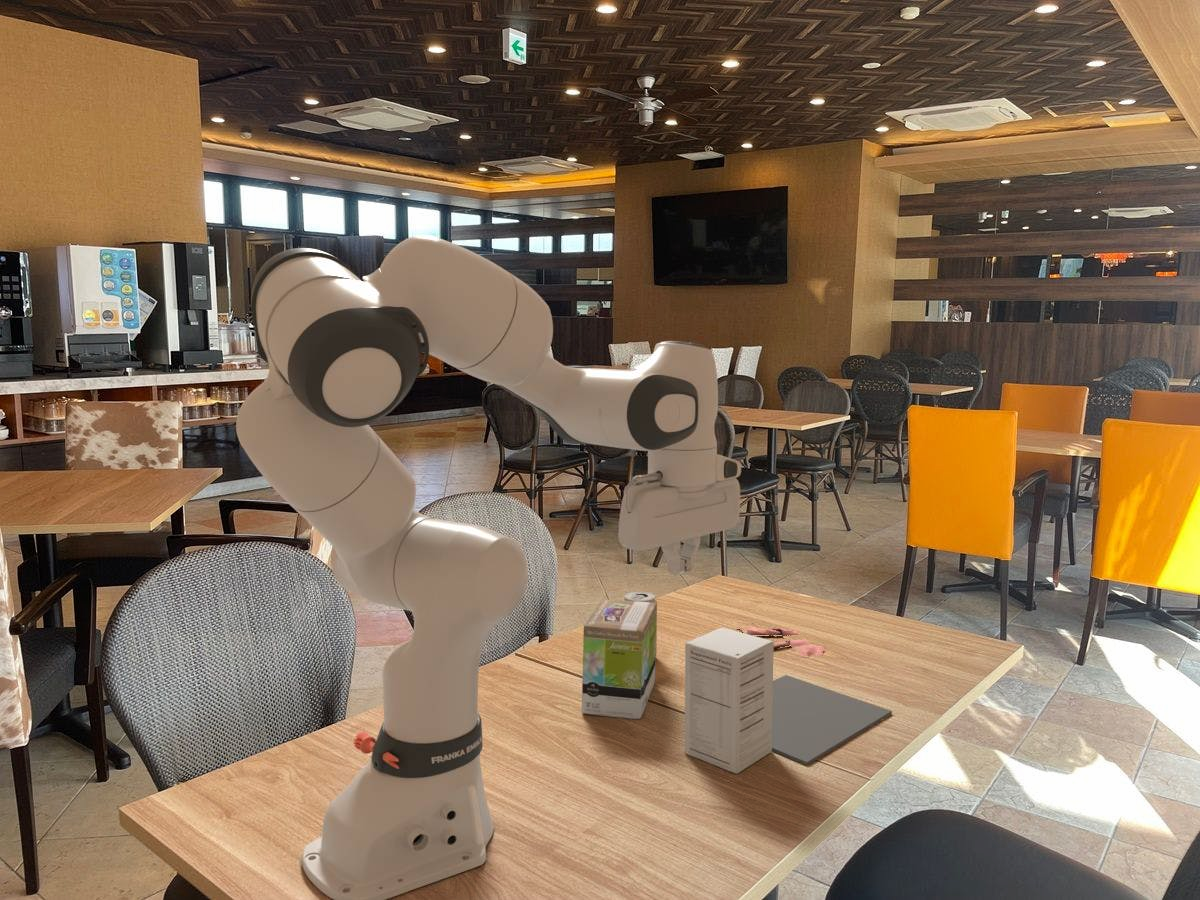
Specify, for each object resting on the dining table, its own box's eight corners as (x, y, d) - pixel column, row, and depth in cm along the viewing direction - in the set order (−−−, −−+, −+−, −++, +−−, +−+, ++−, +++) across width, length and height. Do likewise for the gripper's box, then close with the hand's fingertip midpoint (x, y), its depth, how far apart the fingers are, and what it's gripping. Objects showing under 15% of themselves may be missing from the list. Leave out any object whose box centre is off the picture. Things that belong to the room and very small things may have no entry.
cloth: (837, 664, 164) (838, 651, 163) (718, 663, 164) (718, 650, 164) (812, 626, 184) (813, 615, 183) (706, 625, 184) (706, 614, 184)
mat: (806, 765, 125) (806, 762, 125) (696, 719, 139) (697, 716, 139) (891, 713, 141) (891, 710, 141) (785, 677, 156) (785, 674, 155)
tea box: (643, 721, 139) (644, 630, 137) (580, 715, 141) (580, 625, 139) (656, 683, 153) (657, 600, 151) (599, 678, 155) (599, 596, 153)
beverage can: (662, 656, 165) (663, 593, 164) (645, 667, 160) (646, 603, 158) (632, 649, 169) (633, 588, 167) (615, 660, 163) (615, 597, 162)
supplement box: (773, 752, 129) (777, 640, 126) (737, 776, 122) (740, 658, 120) (719, 731, 135) (721, 625, 133) (681, 753, 128) (683, 641, 126)
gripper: (644, 480, 105) (643, 593, 107) (749, 462, 119) (746, 562, 121) (607, 474, 110) (606, 582, 112) (712, 457, 124) (710, 553, 126)
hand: (680, 571), depth 117 cm, fingers closed
